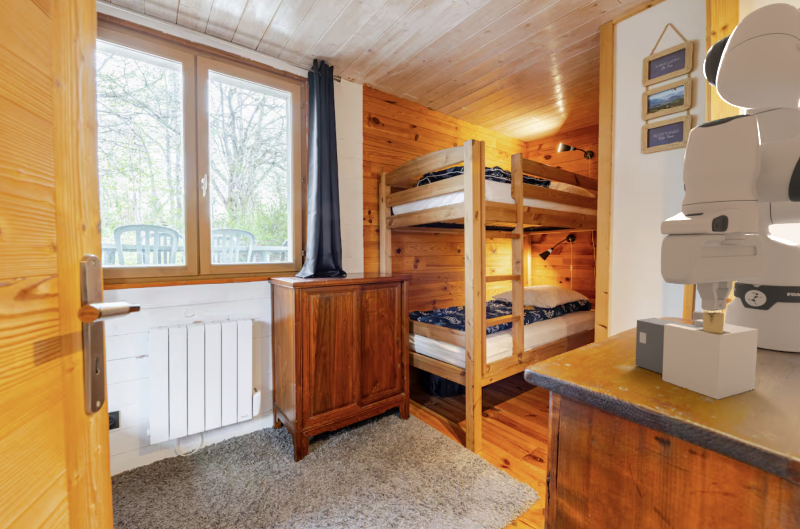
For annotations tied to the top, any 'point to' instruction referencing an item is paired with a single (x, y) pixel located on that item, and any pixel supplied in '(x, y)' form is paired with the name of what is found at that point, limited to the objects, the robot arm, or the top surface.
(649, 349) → the cartridge
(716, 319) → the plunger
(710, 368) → the housing
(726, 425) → the top surface
